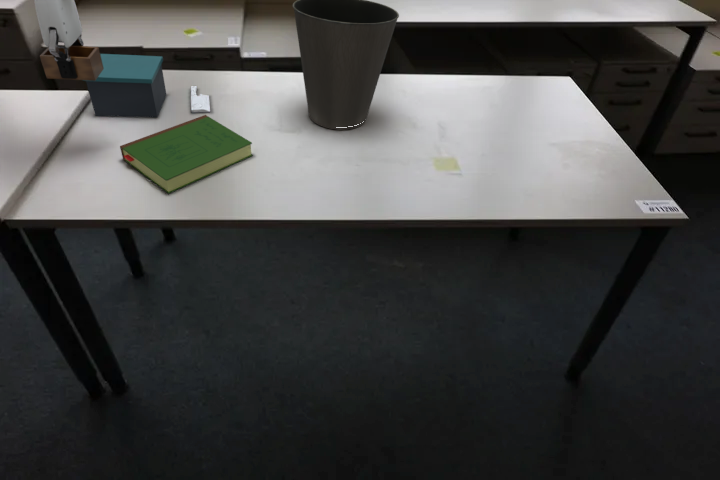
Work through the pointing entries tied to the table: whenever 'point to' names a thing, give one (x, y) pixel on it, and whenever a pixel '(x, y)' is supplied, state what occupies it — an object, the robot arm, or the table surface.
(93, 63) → the wooden box
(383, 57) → the waste basket
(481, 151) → the table surface
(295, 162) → the table surface
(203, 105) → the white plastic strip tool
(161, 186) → the hardcover book
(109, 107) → the storage bin
